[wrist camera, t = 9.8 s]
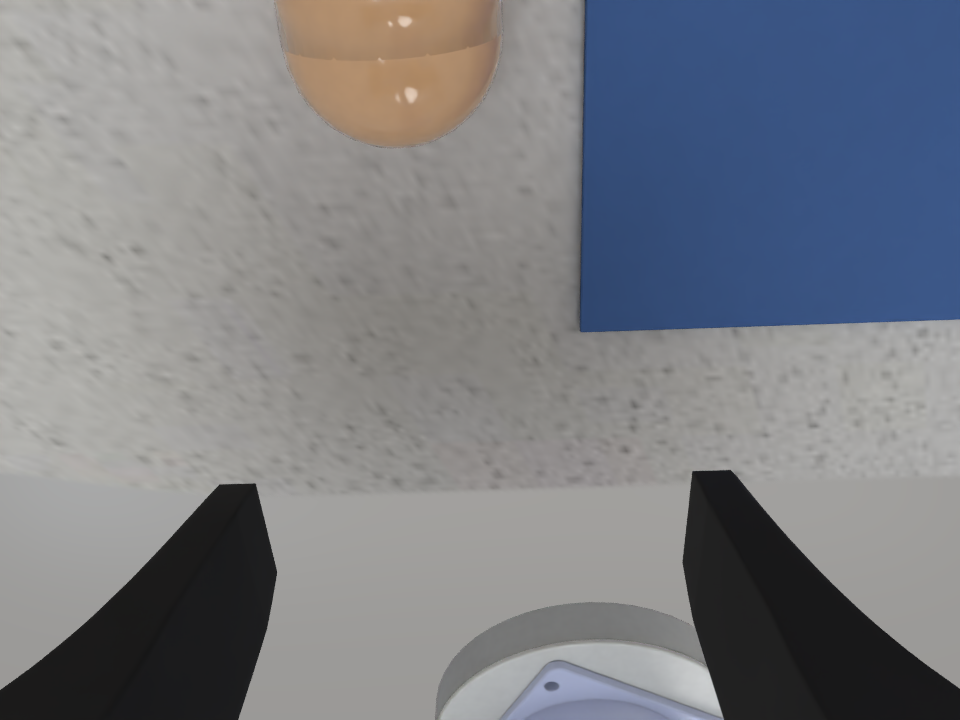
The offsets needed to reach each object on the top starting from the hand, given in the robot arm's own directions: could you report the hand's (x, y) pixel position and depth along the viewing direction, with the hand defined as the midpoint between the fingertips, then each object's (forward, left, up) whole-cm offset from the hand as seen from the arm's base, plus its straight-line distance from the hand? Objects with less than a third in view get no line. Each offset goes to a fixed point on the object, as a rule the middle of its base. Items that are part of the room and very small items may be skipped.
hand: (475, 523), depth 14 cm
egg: (+5, +6, -9) cm, 12 cm away
